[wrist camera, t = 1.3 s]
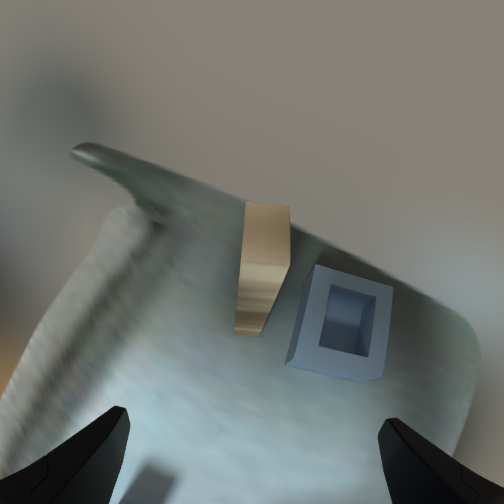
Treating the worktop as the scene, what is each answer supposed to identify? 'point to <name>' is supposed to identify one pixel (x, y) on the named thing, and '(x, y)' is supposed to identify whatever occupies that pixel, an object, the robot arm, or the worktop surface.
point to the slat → (261, 264)
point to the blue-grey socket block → (342, 326)
